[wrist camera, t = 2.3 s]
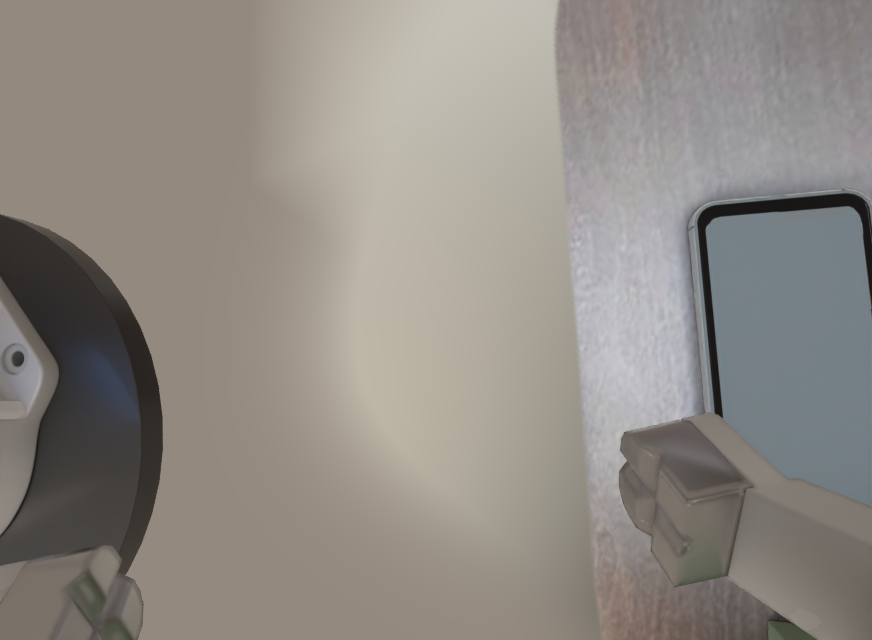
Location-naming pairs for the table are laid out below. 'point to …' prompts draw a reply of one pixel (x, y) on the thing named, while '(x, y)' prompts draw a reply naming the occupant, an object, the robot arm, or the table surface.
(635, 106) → the table surface
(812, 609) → the robot arm
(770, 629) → the sage green upright box
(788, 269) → the smartphone
